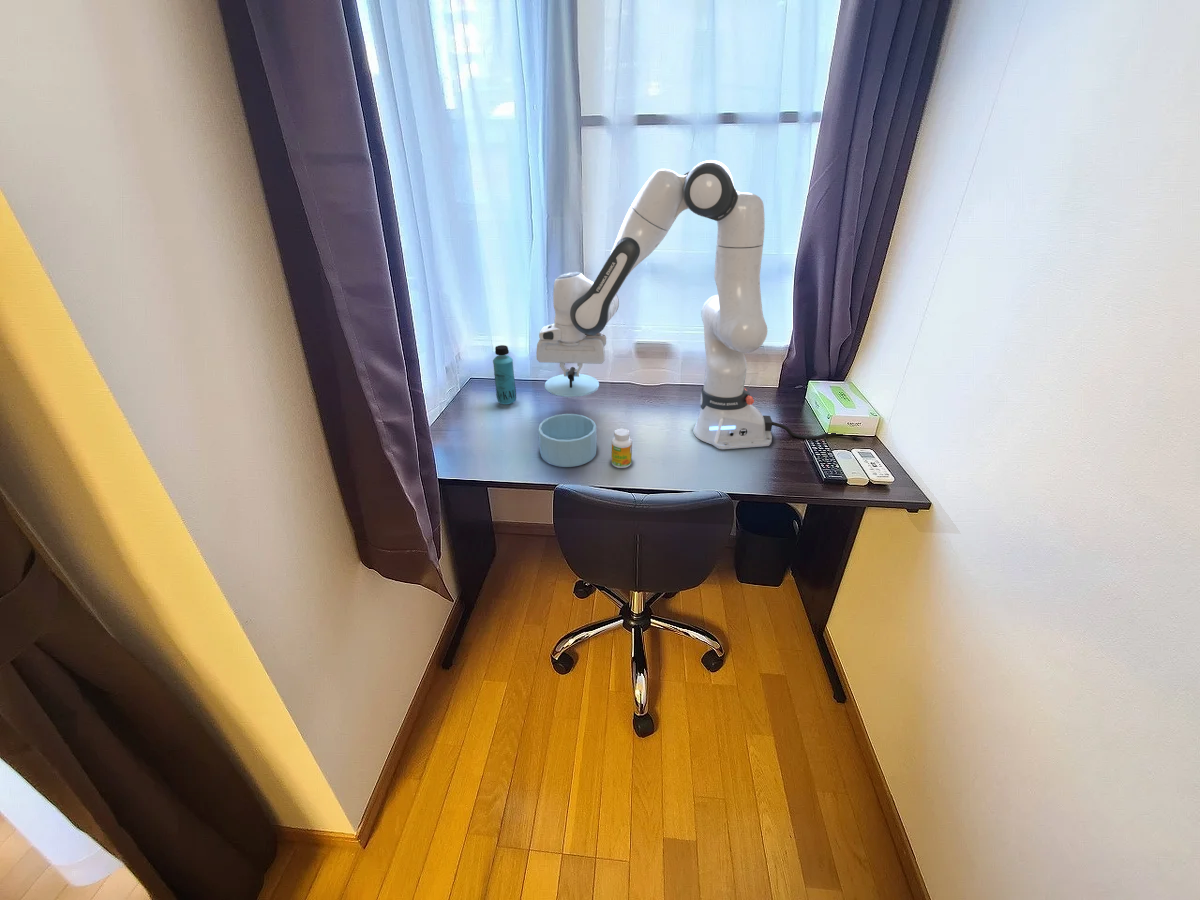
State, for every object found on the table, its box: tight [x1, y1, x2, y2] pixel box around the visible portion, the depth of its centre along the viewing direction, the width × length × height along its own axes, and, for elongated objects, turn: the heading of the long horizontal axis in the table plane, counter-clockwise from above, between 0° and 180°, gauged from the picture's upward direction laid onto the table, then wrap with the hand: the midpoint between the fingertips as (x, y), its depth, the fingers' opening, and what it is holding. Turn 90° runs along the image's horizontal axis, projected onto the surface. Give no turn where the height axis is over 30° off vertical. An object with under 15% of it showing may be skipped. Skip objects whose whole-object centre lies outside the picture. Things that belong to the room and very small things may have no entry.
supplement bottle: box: [610, 427, 633, 469], centre depth 134 cm, size 5×5×10 cm
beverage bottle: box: [492, 344, 517, 405], centre depth 162 cm, size 6×7×20 cm
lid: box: [544, 366, 600, 398], centre depth 152 cm, size 17×17×6 cm
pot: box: [537, 413, 598, 468], centre depth 139 cm, size 16×16×8 cm
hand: (571, 375), depth 152 cm, fingers closed on lid
